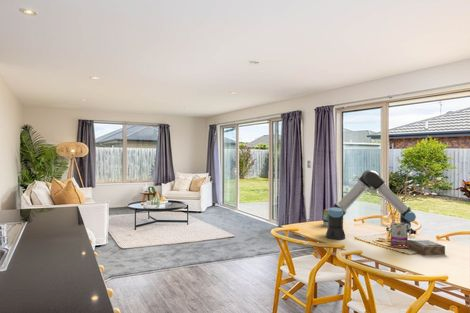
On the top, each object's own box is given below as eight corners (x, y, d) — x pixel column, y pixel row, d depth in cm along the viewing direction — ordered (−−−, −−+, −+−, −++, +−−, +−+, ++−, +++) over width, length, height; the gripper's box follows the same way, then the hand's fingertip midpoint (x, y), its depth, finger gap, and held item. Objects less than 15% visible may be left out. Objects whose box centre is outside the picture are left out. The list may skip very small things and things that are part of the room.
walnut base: (423, 255, 232) (423, 246, 232) (408, 248, 248) (408, 240, 248) (444, 254, 235) (445, 245, 235) (428, 247, 251) (428, 239, 251)
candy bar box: (407, 245, 256) (407, 223, 256) (407, 247, 252) (407, 224, 252) (391, 243, 262) (391, 222, 262) (390, 245, 257) (390, 223, 257)
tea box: (333, 226, 322) (333, 210, 322) (322, 225, 328) (322, 209, 328) (339, 224, 334) (339, 208, 334) (329, 222, 340) (329, 207, 340)
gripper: (421, 234, 266) (418, 240, 248) (386, 230, 280) (380, 235, 262) (421, 224, 266) (418, 229, 248) (386, 221, 279) (381, 225, 262)
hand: (399, 232), depth 255 cm, fingers open, 13 cm apart
